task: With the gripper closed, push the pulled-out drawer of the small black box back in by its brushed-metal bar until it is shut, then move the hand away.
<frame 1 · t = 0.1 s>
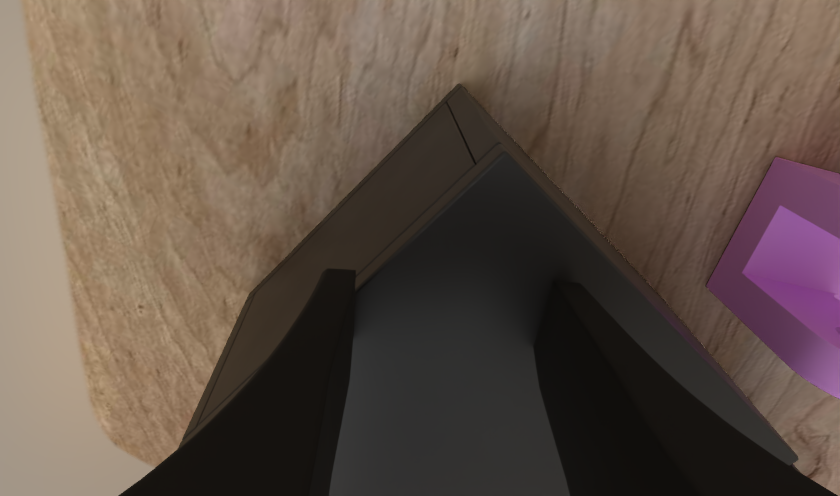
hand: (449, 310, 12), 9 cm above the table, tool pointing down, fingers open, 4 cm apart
black box: (461, 298, 22), on the table
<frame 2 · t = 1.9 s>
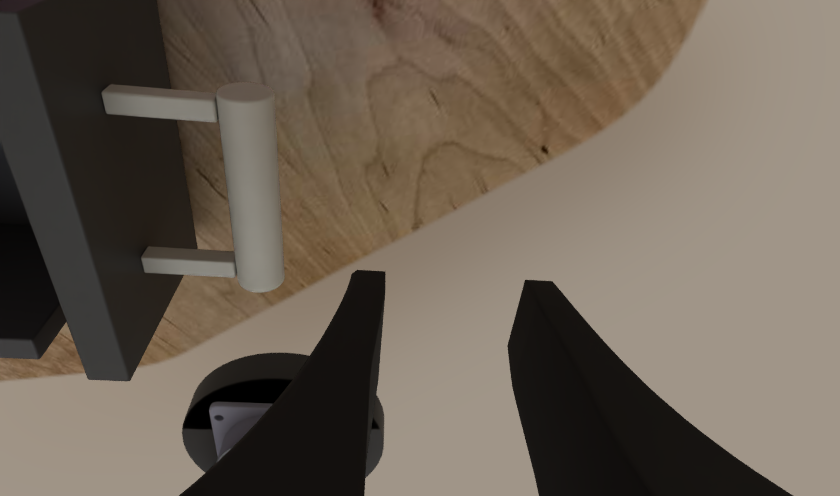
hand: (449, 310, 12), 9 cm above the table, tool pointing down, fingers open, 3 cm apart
drawer: (5, 162, 16), point 4 cm above the table, slide at 6.5 cm
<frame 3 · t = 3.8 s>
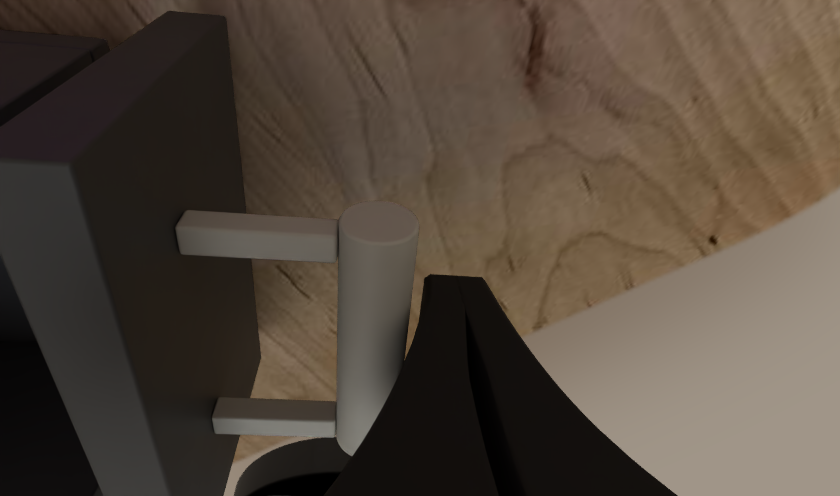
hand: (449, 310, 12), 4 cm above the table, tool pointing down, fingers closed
drawer: (31, 298, 11), point 4 cm above the table, slide at 6.1 cm, touching gripper
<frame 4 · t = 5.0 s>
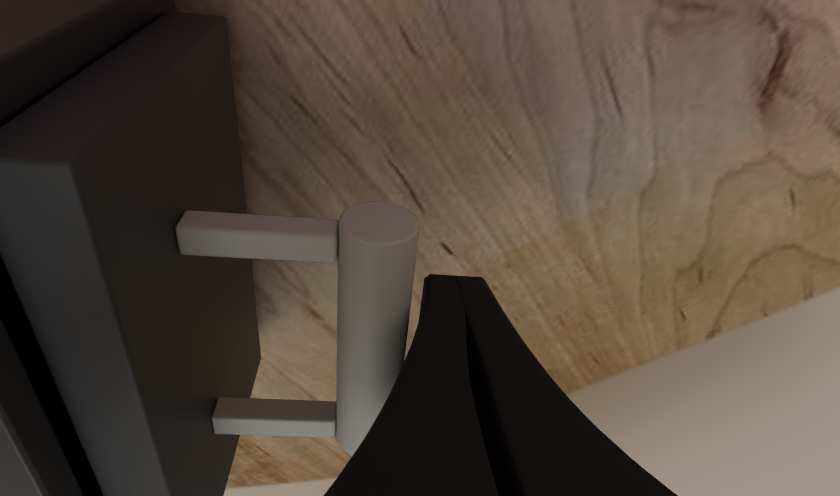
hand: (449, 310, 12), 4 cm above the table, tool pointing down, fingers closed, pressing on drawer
drawer: (31, 298, 11), point 4 cm above the table, slide at 0.1 cm, touching gripper
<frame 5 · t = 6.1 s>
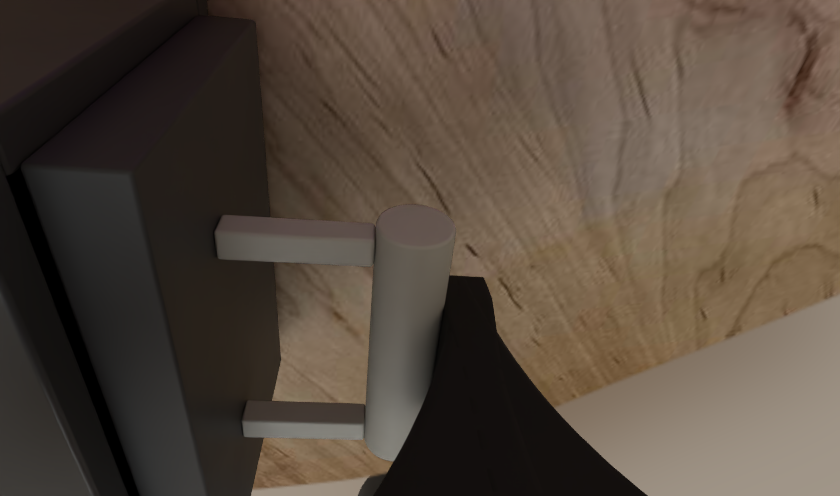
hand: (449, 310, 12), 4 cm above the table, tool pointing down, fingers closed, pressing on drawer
drawer: (61, 303, 11), point 4 cm above the table, slide at 0.0 cm, touching black box, gripper
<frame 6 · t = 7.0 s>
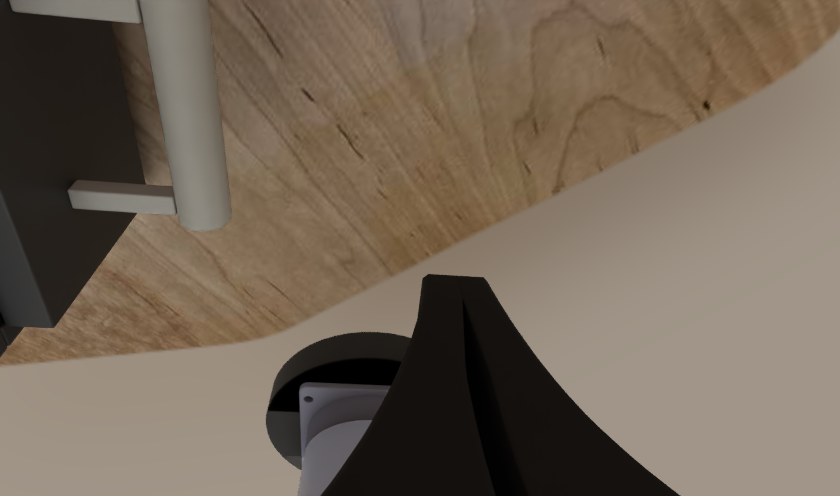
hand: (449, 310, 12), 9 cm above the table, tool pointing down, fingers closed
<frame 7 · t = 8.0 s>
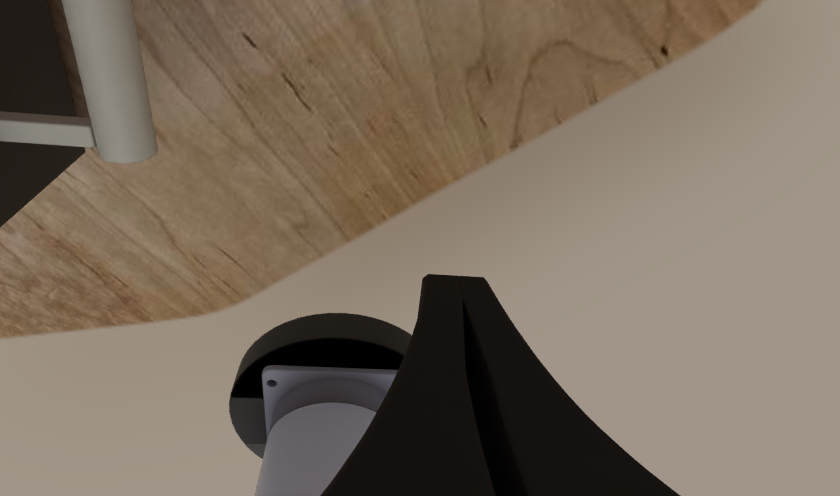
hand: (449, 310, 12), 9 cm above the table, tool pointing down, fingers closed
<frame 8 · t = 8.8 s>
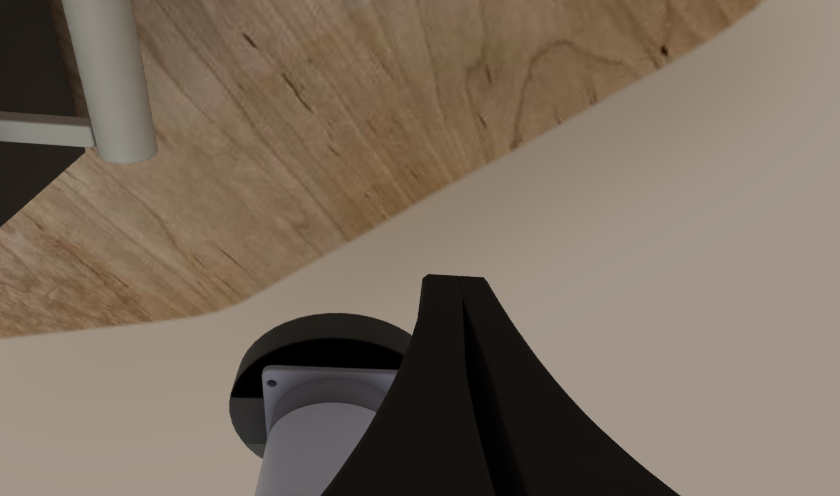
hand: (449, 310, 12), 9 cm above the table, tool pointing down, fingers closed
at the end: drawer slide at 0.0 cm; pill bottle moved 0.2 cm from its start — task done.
